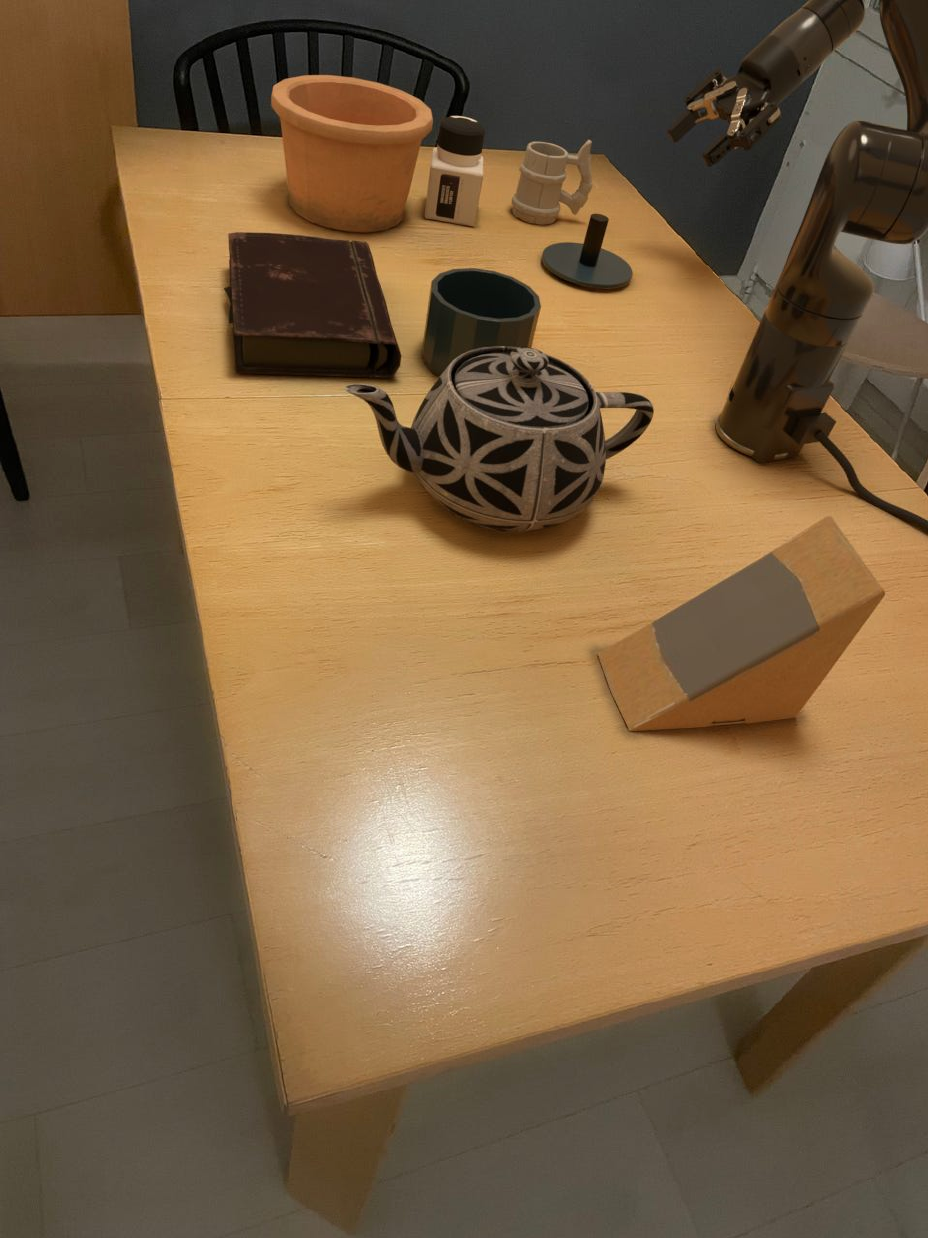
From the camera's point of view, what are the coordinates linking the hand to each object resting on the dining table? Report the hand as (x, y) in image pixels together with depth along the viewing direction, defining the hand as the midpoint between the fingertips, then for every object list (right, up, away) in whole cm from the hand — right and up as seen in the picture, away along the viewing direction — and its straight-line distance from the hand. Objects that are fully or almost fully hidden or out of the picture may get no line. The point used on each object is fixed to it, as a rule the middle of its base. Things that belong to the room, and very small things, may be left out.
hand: (687, 149), depth 120 cm
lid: (-13, -13, +7) cm, 20 cm away
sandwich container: (-11, -70, -47) cm, 85 cm away
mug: (-18, -1, +19) cm, 26 cm away
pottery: (-48, -4, +9) cm, 49 cm away
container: (-33, -3, +14) cm, 36 cm away
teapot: (-28, -52, -33) cm, 68 cm away
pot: (-30, -34, -16) cm, 48 cm away
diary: (-50, -29, -16) cm, 60 cm away
